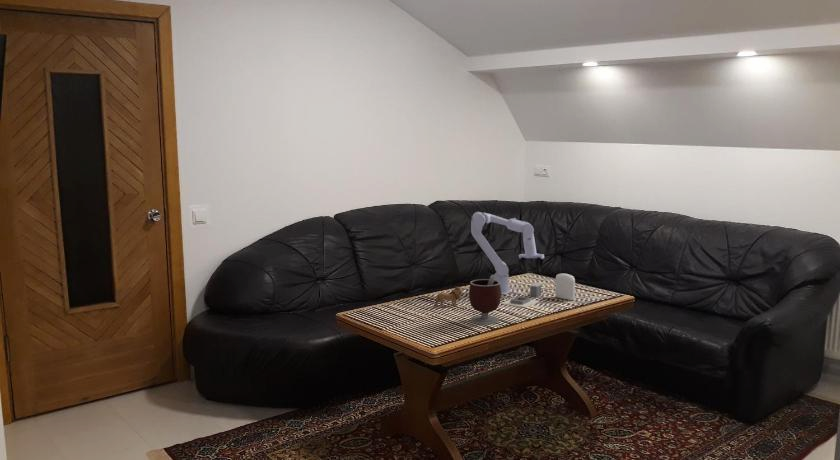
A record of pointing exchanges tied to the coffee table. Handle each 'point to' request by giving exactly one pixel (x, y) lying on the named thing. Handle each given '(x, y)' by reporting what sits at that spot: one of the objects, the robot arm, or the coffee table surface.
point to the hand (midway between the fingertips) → (533, 271)
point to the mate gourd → (485, 299)
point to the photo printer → (565, 286)
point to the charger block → (535, 290)
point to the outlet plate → (520, 302)
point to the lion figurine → (449, 297)
